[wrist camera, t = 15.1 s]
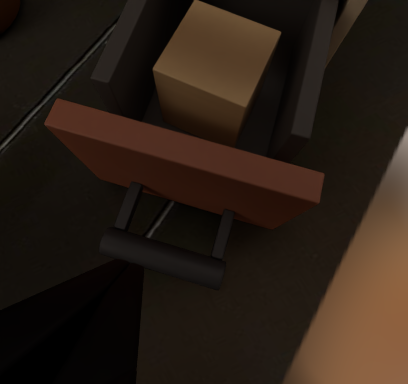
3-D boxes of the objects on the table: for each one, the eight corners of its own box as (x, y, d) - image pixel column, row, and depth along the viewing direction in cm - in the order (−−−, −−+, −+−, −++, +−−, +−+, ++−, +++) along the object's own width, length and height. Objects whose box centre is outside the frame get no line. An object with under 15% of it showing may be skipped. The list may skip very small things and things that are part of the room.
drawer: (256, 301, 15) (298, 321, 9) (71, 244, 15) (-10, 225, 9) (311, 56, 19) (364, -44, 13) (167, 18, 20) (154, -94, 14)
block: (232, 151, 16) (246, 107, 12) (163, 121, 16) (151, 68, 12) (260, 91, 17) (282, 31, 13) (194, 64, 17) (194, -2, 13)
